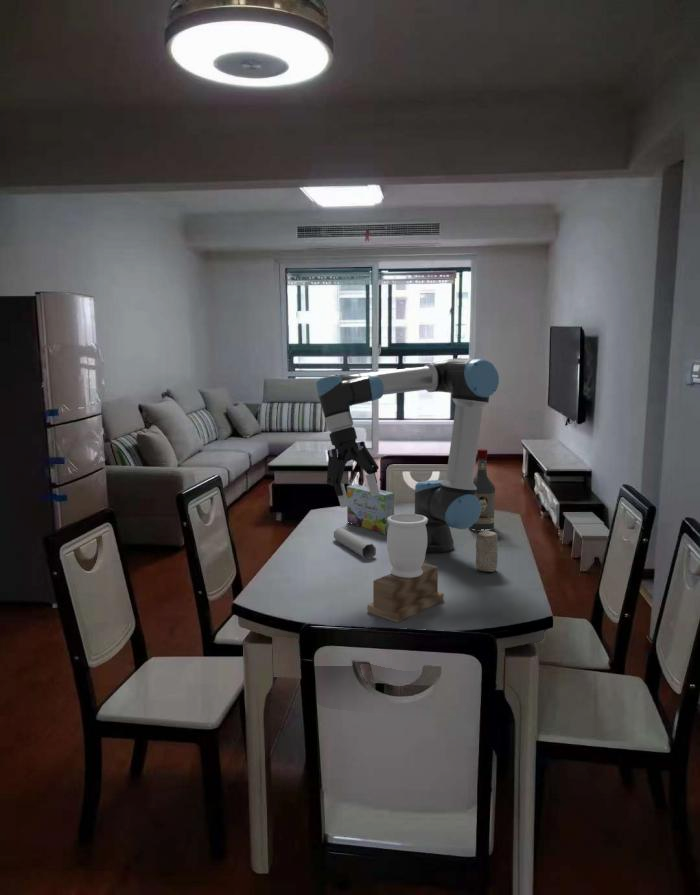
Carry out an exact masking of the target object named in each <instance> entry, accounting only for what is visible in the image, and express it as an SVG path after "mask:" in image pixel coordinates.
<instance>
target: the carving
mask: <svg viewBox="0 0 700 895" xmlns="http://www.w3.org/2000/svg"><path fill="white" fill-rule="evenodd" d="M498 538H499V537H498V533H496V532H494V531H493V530H491V531H478V532H477V535H476V538H475V539H476V542H475V554H476V555H475V567H476V569H477V570H478V571H481V572H486V573H487V572H489V573H493V572H496V570H497V566H498V542H499V541H498V540H499V539H498Z"/></svg>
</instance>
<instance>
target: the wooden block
mask: <svg viewBox="0 0 700 895" xmlns="http://www.w3.org/2000/svg"><path fill="white" fill-rule="evenodd" d="M421 568H422V570H423V574H422V575H420V576H418V577H413V578H402V577H397V576H394V575H393V574H391V573H389V574H387V575H384V576H381V577H379V578H377V579H374V580H373V591H372V592H373V595H372V596H373V598H372V600H373V601H372V602H370V603H367V613H369V614H372V615H375V616H377V617H380V618H383V619H387V620H389V621H392V622H395V623H400V622H402V621H404V620H406V619H408V618H410V617H412V616H414V615H416V614H419V613H421V612H422V611H424V610H427V609H429V608H431V607H433V606H434V605H437V604H439V603H441V602H442V601H444V595H445V594H444V592H442V591H439V590H438V587H439V586H438V584H439V583H438V582H439V581H438V580H439V579H438V578H439V572H438V571H439V566H436V565H432V564H429V563H426V562H424V563H423V565H422V567H421Z"/></svg>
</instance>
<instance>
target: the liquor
mask: <svg viewBox="0 0 700 895" xmlns="http://www.w3.org/2000/svg"><path fill="white" fill-rule="evenodd" d="M476 459H477V472H476V475H474V477H473V483H474V485H475V486H476V487H477V491H476V497H477V498H478V499H479V502H480V503H481V514H480V517H479V518H478V520H477V521H476V523H474V524H473V525H472V526H471V527H469V528H468V529H469V530H470V529H475V530H481V529H484V530H485V529H492V528H493V529H494V528H495V505H496V503H495V500H496V499H495V498H496V487H495V484H494V483H493V482H492V480H491V479H490V478H489V477H488V473H487V462H488V461H487V459H488V449H483V448H481V449H477V455H476Z"/></svg>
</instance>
